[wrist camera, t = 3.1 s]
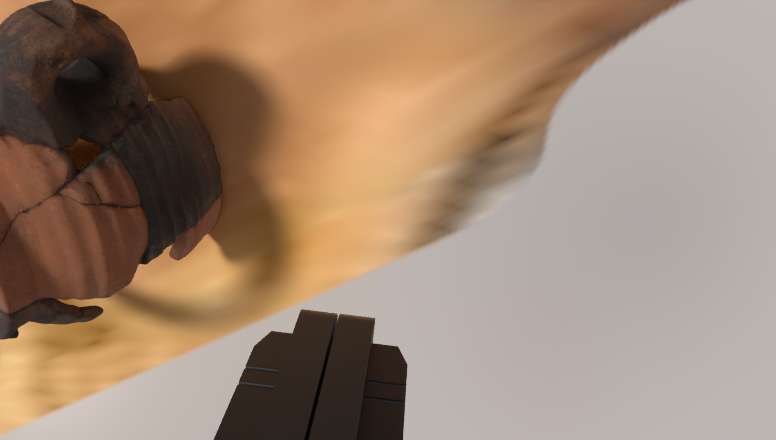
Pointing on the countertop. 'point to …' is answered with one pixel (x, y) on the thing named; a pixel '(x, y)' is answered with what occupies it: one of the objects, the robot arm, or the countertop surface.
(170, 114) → the pottery mug
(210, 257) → the countertop surface
